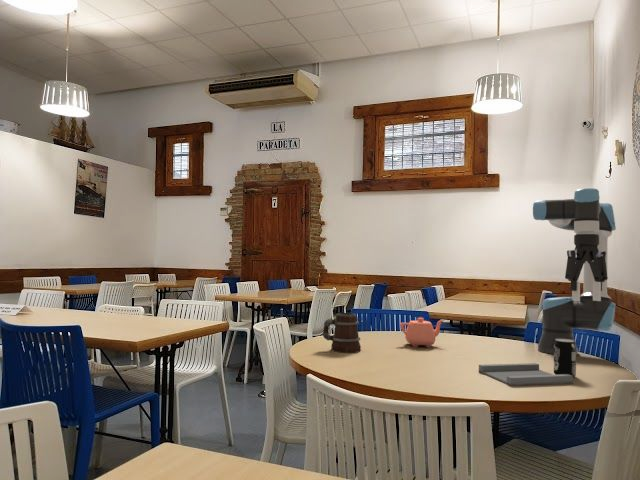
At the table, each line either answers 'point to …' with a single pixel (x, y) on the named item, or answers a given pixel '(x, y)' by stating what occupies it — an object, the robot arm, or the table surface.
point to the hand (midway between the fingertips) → (586, 300)
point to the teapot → (420, 332)
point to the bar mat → (523, 374)
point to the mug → (343, 333)
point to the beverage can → (564, 357)
